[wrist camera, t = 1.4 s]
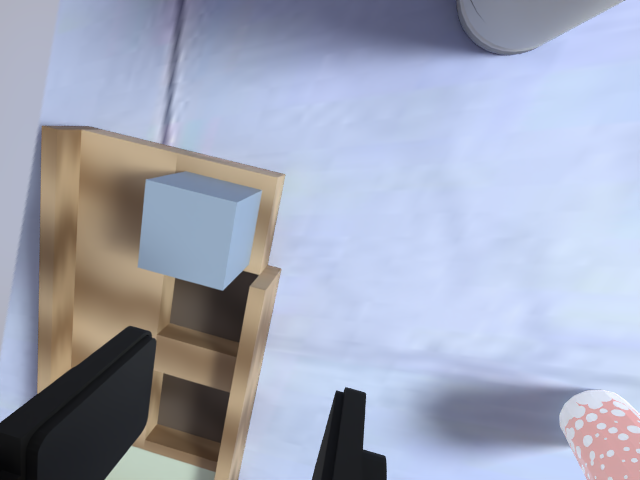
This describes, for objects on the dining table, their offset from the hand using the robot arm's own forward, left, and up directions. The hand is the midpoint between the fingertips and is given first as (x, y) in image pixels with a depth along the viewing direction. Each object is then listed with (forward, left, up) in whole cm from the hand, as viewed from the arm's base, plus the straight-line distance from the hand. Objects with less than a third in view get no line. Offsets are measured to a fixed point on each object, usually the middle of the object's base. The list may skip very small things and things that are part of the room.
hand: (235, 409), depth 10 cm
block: (+2, +6, -15) cm, 17 cm away
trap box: (-6, +13, -17) cm, 23 cm away
